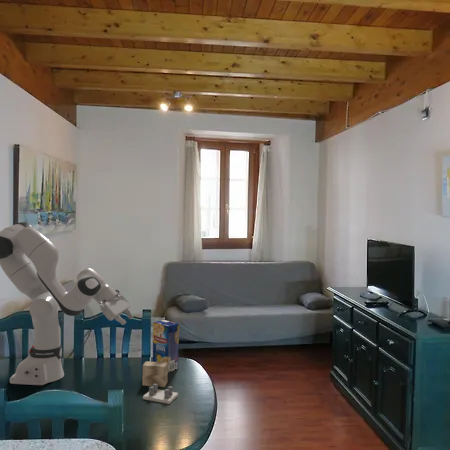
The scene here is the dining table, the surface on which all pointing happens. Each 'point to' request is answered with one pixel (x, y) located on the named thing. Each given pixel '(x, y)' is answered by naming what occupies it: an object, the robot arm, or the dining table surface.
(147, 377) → the tan wooden block
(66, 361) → the dining table surface
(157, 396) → the peg stand
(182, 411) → the dining table surface
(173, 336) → the beverage box
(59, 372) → the robot arm
